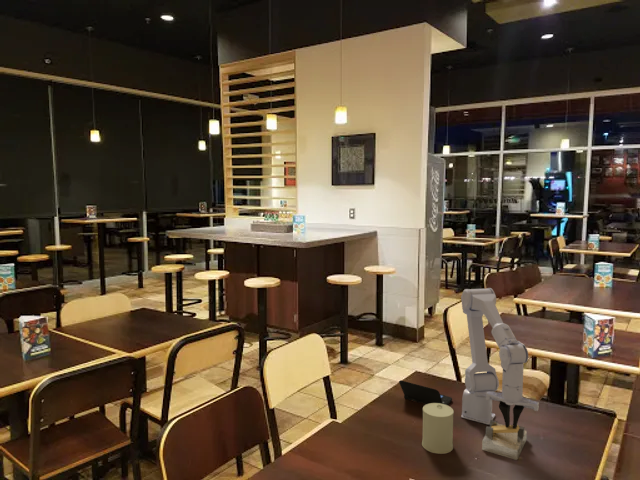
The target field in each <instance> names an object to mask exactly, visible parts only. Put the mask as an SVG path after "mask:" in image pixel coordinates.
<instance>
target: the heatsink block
mask: <svg viewBox="0 0 640 480" xmlns="http://www.w3.org/2000/svg"><path fill="white" fill-rule="evenodd" d="M502 425H503V424H502V423H498V420H497V421H496V420H494V419H493V420H490V424H489V426H487V425H486V427H485V434H484V437H483V439H482V440H481V450H482V451H484V452H488V453H491V454H495V455H497V456H498V455H499V456H502V457H504V458H508V459H512V460H515V461H517V460H518V459H519V457H520V455H521V453H522V451H523V448H524V446H525V444H526V442H527V439H528V438H527V436H528V435H527V434H528V433H527V432H528V431H527V430H525V429H524V436H523V437H521V436H518V432H517V433H493V428H491V426H502Z"/></svg>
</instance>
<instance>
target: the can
mask: <svg viewBox="0 0 640 480" xmlns="http://www.w3.org/2000/svg"><path fill="white" fill-rule="evenodd" d="M454 413H455V412H454V409H453V408H452V407H451V406H449V404H448V405H445V404H441V403H430V404H424V405H423V407H422V442H421V445H422V447H423V448H424V449H425V450H426V451H427V452H430V453H433V454H437V455H442V454H448V453H451V451H453V449H454V445H453V442H454V441H453V440H454V439H453V436H454V435H453V433H454V428H453V427H454Z"/></svg>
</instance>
